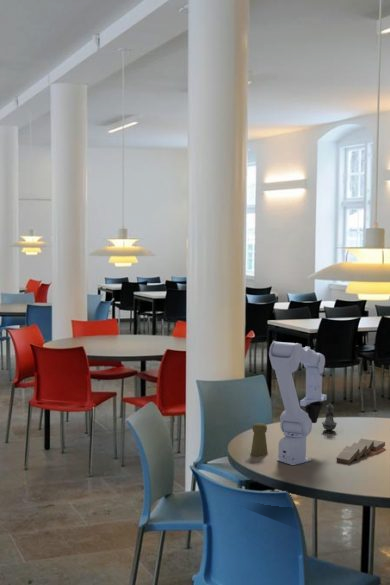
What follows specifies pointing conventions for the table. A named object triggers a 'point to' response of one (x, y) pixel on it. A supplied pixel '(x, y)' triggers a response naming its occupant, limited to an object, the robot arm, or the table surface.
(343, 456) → the tile
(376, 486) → the table surface
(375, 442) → the tile
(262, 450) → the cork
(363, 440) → the tile
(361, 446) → the tile
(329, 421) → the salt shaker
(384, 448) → the tile
